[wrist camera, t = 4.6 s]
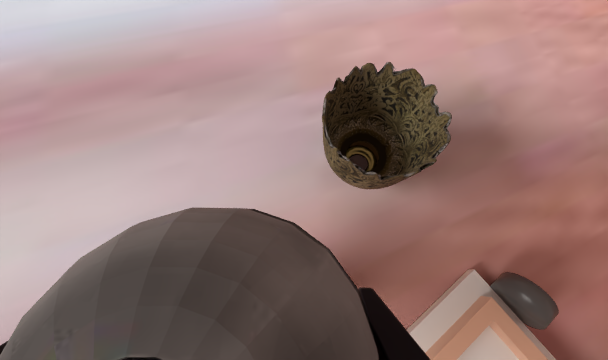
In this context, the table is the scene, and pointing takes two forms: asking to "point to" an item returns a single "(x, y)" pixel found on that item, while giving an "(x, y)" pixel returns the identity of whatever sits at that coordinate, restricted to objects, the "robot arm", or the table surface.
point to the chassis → (486, 320)
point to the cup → (382, 126)
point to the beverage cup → (200, 296)
